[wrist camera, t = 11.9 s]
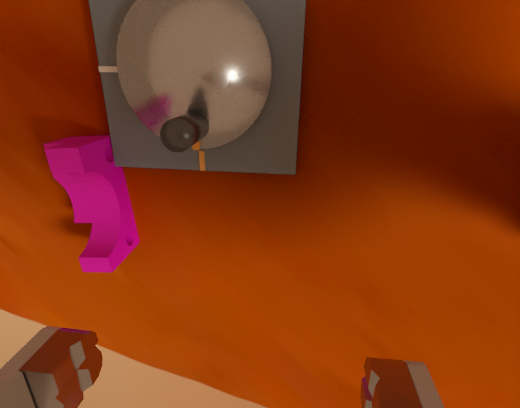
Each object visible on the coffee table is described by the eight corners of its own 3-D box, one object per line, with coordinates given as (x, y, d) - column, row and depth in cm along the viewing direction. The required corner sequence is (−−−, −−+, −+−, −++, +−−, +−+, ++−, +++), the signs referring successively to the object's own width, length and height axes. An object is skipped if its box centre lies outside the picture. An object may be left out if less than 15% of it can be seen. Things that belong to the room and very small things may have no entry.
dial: (112, -20, 32) (61, -45, 25) (275, -20, 30) (268, -48, 23) (133, 143, 38) (97, 160, 31) (269, 150, 36) (263, 168, 29)
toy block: (69, 136, 40) (22, 150, 34) (115, 134, 40) (77, 147, 33) (98, 241, 46) (64, 271, 39) (140, 241, 45) (112, 272, 38)
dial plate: (309, -54, 30) (309, -61, 29) (295, 171, 39) (295, 175, 37) (88, -49, 32) (78, -56, 31) (121, 163, 41) (114, 166, 39)
